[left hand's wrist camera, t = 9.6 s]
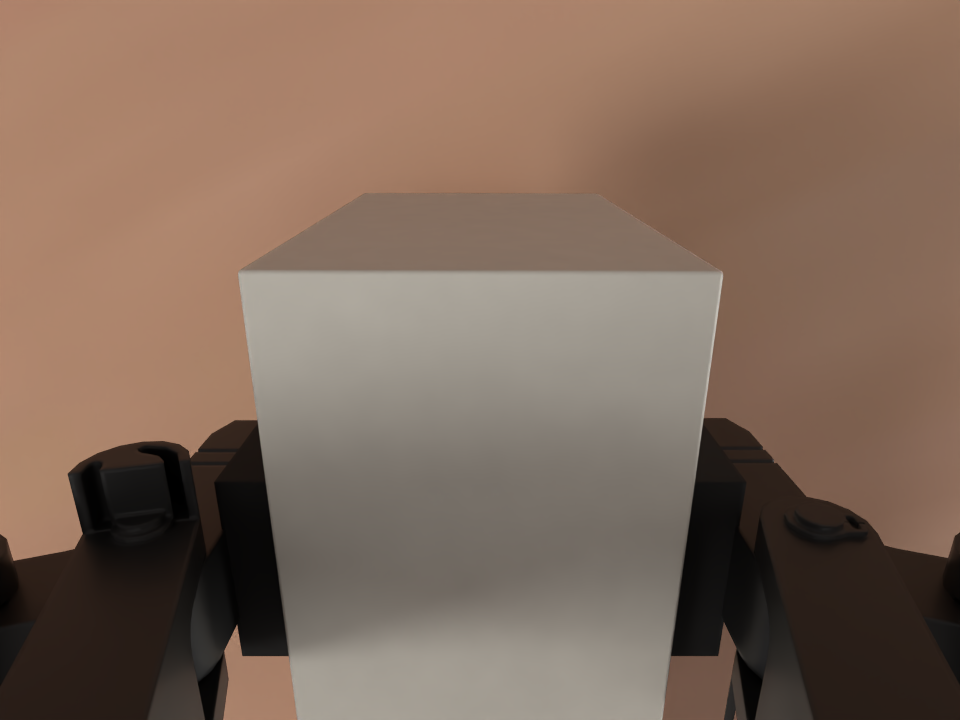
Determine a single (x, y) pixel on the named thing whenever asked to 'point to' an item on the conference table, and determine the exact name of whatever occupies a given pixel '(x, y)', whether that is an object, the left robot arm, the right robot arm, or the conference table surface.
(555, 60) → the conference table surface
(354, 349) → the bar
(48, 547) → the conference table surface
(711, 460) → the left robot arm
